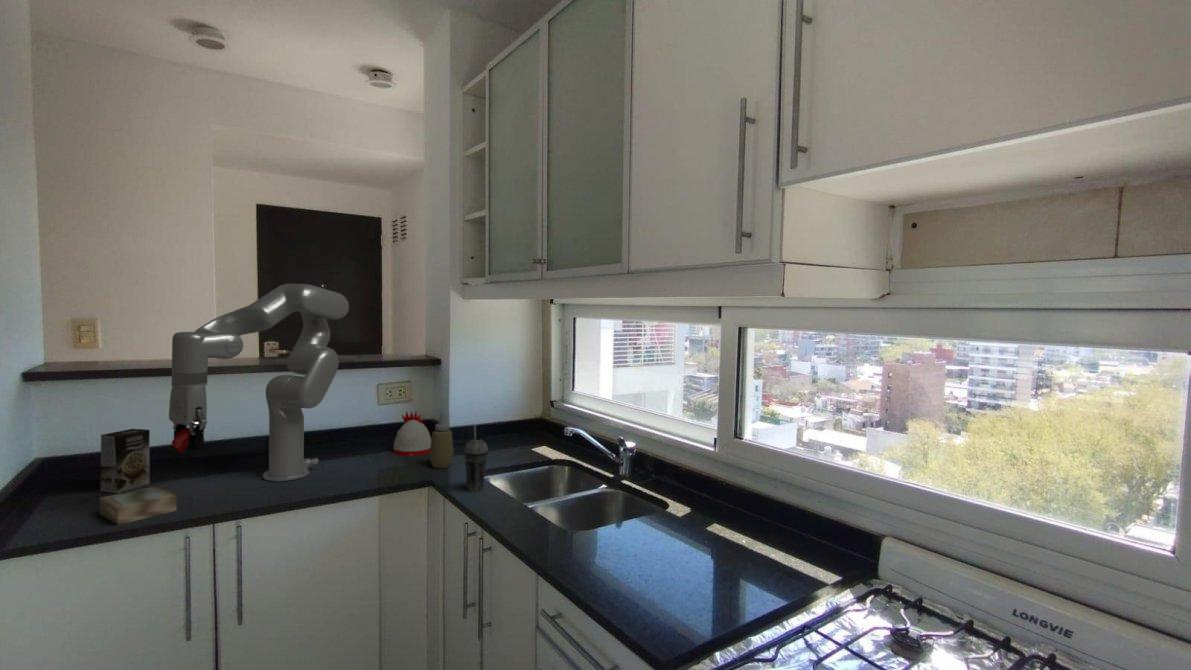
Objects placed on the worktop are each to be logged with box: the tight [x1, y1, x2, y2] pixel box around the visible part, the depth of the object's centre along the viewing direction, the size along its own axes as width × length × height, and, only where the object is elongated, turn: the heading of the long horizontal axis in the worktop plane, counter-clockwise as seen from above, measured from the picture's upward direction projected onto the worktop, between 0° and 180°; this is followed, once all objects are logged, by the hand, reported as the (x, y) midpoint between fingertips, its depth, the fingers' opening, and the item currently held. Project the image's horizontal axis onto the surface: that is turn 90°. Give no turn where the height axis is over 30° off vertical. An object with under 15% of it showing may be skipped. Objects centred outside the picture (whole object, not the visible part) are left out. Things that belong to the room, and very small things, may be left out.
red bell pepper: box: [171, 426, 196, 453], centre depth 145 cm, size 8×6×6 cm
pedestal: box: [98, 485, 178, 526], centre depth 141 cm, size 12×12×4 cm
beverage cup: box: [463, 424, 489, 493], centre depth 167 cm, size 7×7×20 cm
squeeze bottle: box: [428, 413, 455, 469], centre depth 189 cm, size 8×8×18 cm
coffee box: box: [100, 428, 150, 494], centre depth 157 cm, size 9×6×16 cm
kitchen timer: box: [392, 411, 432, 457], centre depth 207 cm, size 14×14×15 cm
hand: (188, 446), depth 144 cm, fingers closed on red bell pepper, 7 cm apart
